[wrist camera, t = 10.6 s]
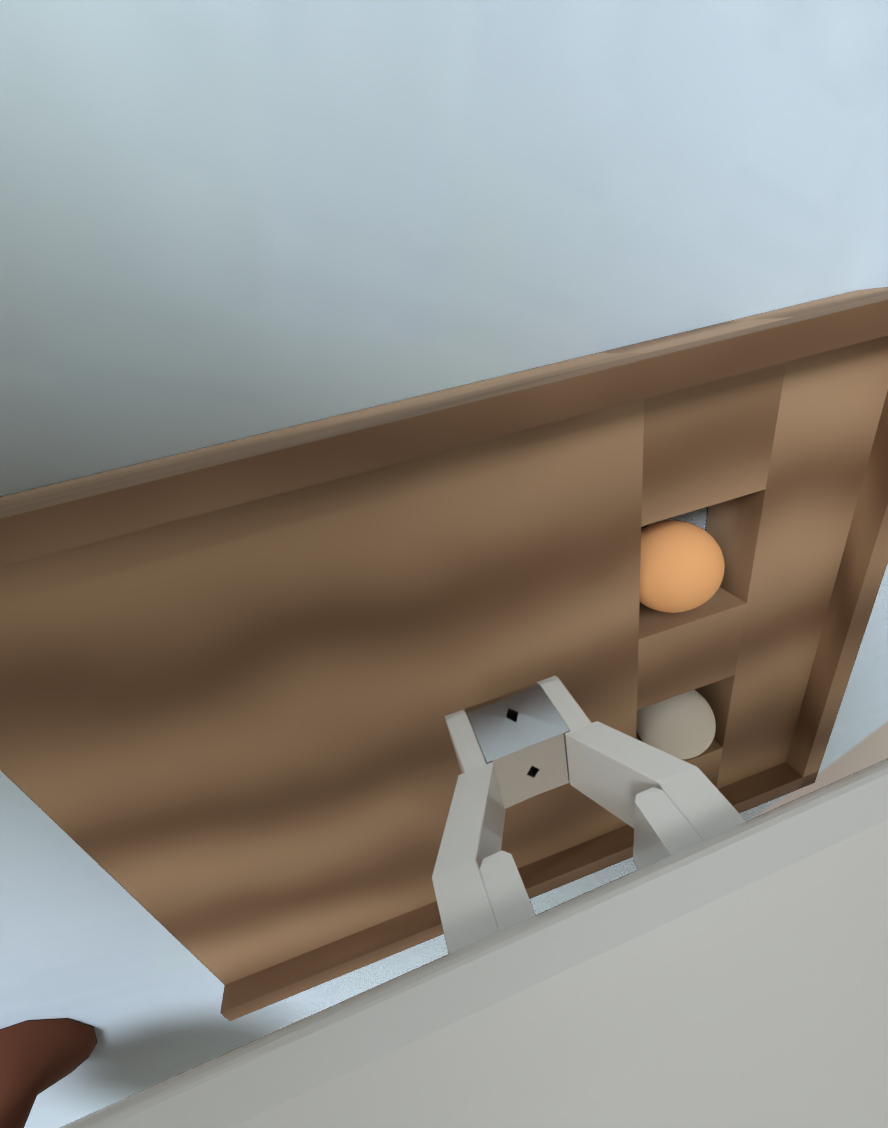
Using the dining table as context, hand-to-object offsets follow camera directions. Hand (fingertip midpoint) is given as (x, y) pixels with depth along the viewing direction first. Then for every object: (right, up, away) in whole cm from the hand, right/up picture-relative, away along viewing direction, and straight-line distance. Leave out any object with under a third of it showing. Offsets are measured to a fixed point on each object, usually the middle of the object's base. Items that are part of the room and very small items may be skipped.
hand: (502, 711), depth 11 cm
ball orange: (+7, +4, +6) cm, 10 cm away
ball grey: (+10, -4, +10) cm, 15 cm away
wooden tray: (+1, -1, +9) cm, 9 cm away
